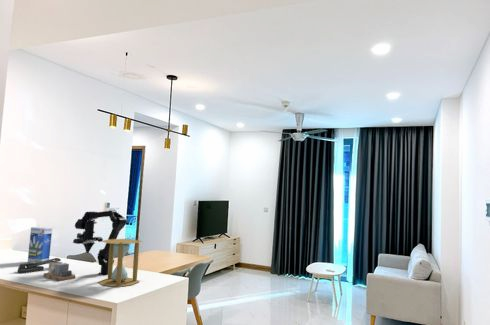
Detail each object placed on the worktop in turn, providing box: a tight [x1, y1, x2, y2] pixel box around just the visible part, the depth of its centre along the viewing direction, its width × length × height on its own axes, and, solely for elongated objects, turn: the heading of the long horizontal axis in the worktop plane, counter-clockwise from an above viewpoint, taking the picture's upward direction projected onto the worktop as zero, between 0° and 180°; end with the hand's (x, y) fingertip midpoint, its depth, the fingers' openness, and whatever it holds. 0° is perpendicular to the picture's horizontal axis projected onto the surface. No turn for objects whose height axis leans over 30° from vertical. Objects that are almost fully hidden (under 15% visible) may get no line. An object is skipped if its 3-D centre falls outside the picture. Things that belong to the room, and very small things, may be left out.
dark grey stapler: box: [17, 257, 62, 274], centre depth 238 cm, size 9×7×25 cm
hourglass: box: [97, 238, 143, 288], centre depth 215 cm, size 24×22×25 cm
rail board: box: [43, 260, 76, 282], centre depth 220 cm, size 18×10×10 cm, turn 56°
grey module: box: [55, 262, 70, 276], centre depth 219 cm, size 4×6×6 cm
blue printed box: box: [27, 226, 53, 263], centre depth 263 cm, size 13×8×26 cm, turn 73°
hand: (87, 253), depth 241 cm, fingers closed
